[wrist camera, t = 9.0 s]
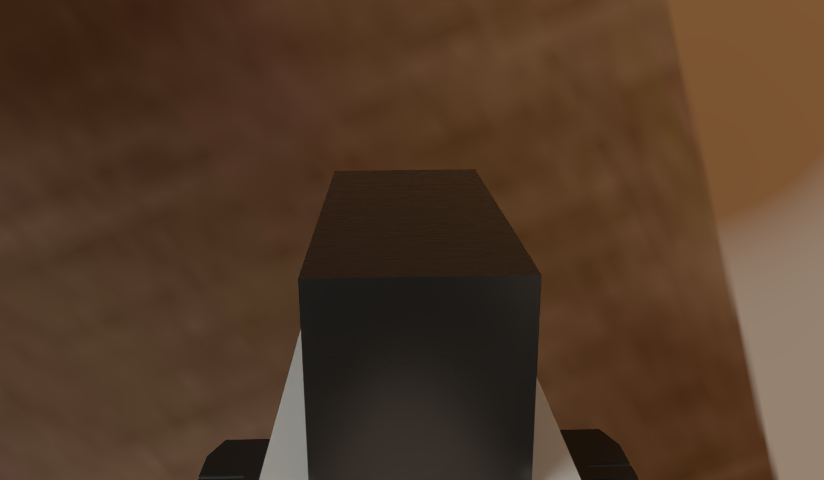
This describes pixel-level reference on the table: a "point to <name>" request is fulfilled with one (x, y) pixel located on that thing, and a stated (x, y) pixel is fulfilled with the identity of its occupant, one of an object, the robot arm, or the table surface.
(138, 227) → the table surface
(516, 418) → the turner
